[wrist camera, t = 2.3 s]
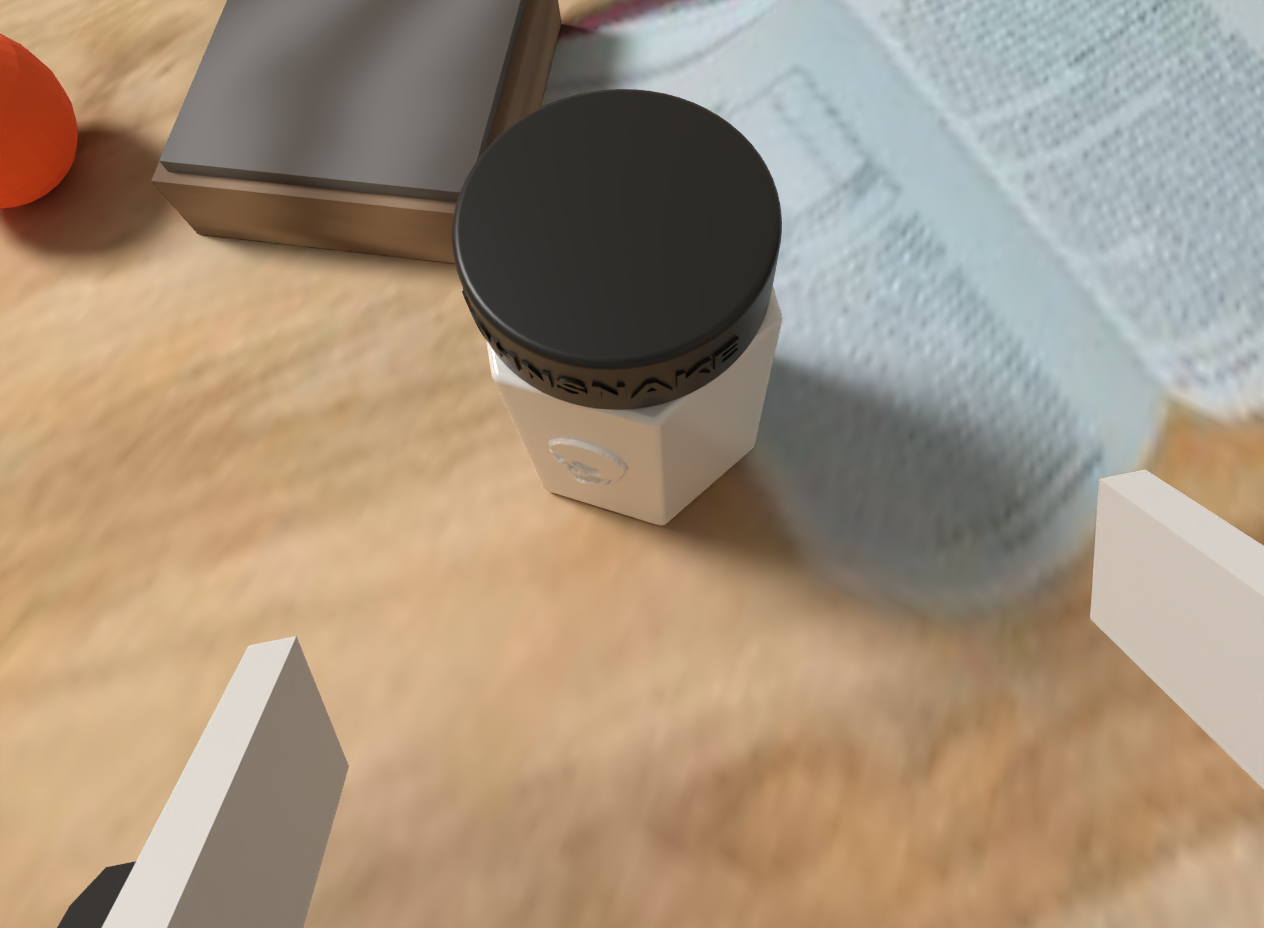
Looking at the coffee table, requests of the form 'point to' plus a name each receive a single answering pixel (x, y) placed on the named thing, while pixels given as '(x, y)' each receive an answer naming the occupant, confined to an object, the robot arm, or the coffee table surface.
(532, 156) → the jar
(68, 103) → the clementine
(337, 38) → the stand
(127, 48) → the coffee table surface
